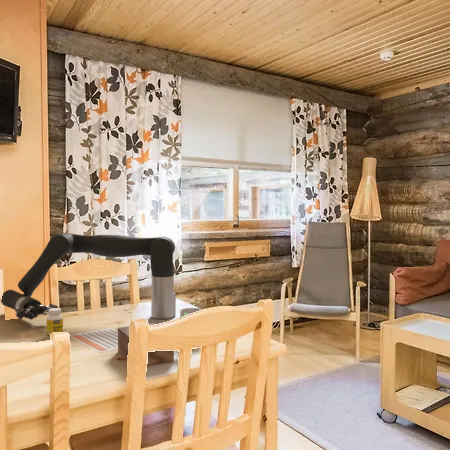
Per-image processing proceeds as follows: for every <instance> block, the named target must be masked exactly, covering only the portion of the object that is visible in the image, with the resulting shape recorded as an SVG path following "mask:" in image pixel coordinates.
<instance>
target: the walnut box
mask: <svg viewBox="0 0 450 450" xmlns="http://www.w3.org/2000/svg"><path fill="white" fill-rule="evenodd" d="M148 324H149V325H154V324H156V323H155V322H151V323H148ZM130 326H131V325H129V326H128V325H127V326H122V327H117V331H118V349H117V353H119V354H120V355H121V356H122V357H123V358H124V359H125V360H126V361H127V355H128V343H129V327H130ZM173 362H175V350H174V351H155V352H148V364H147V367H151V366H157V364H158V365H163V364H168V363H173Z"/></svg>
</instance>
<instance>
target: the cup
mask: <svg viewBox="0 0 450 450" xmlns="http://www.w3.org/2000/svg"><path fill="white" fill-rule="evenodd" d="M201 309H202V308H199V307H187V308H182V309H180V310H179V313H180V314H179V317H180V318H181V317H182V316H183V314H184V313H186V314H190V313H193V312H196V311H199V310H201Z"/></svg>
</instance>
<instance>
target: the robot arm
mask: <svg viewBox="0 0 450 450" xmlns="http://www.w3.org/2000/svg"><path fill="white" fill-rule="evenodd" d="M175 251H176V244H175V242H174V241H173V239H171V238H169V237H167V236H158V237H137V236H130V235H119V234H118V235H117V234H116V235H115V234H95V235H93V234H92V235H82V234H78V233H77V234H76V233H69V232H61V233H57V234H55V235H53V236H52V237H51V238H50V239H49V241H48V242H47V244H46V246H45V248H44V249H43V251H42V252H41V254H40V256H39V257H38V258H37V259H36V261H35V263H34V264H33V265H32V266H31V268H29V269H28V270H27V272H26V273H25V274H24V275H23V276H22V278H20V280H19V281H18V284H17V288H18V289H19V290H20V291H21V292H23V293H20V291H16V290H13V289H7V290H5V291H4V292H3V293H2V294H3V296H2V295H1V296H2V300H1V299H0V304H2V305H3V306H4V307H7V308H10V309H11V310H12V309H13V310H14V311H15V317H16V318H18V319H20V320H22V319H29V320H33V319H35V318H37V317H39V316H41V315H42V316H48V315H49V309H52V308H59V306H58V305H55V304H53V303H50V304H48V305H46V304H45V305H44V304H42V303H41V301H40V300H38V299H37V298H34V297H32V295H33V294H34V292H35V290H36V289H37V288H38V287H39V286H40V285H41V283H42V282H43V281H44V280H45V277H46V276H47V274H48V272H49V271H50V269H51V268H52V267H53V265H54V264H55V263H56V262H57V261H58V260H60V259H61V258H62V257H64V256H66V255H68V254H69V255H70V254H77V253H78V254H79V253H80V254H82V253H84V254H85V253H86V254H93V255H95V256H101V257H106V258H127V257H128V258H129V257H137V256H150V257H149V258H150V260H149V261H150V271H151V298H150V299H151V304H150V305H151V312H150V313H151V315H150V316H151V318H152V319H157V320H162V319H163V320H165V319H167V320H168V319H171V318H174V317H176V299H177V298H176V296H177V295H176V293H175V292H174V291H175V286H174V285H175V268H174V253H175Z"/></svg>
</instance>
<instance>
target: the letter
mask: <svg viewBox="0 0 450 450" xmlns="http://www.w3.org/2000/svg"><path fill="white" fill-rule="evenodd" d="M105 328H107V329H108V330H107V331H106V329H105ZM105 328H100V329H95V330H90V331H84V332H78V333H74V334H70V335H71V337H70V338H72V339H74V340H76V341H78V342H80V343H81V344H83V345H85V346H87V347H89V348H91V349H93V350H95V351H97V352H99V353H105V352H109V351H112V350H118V330H116V329H114V328H112V327H110V329H111V330H110V329H109V327H105Z"/></svg>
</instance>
